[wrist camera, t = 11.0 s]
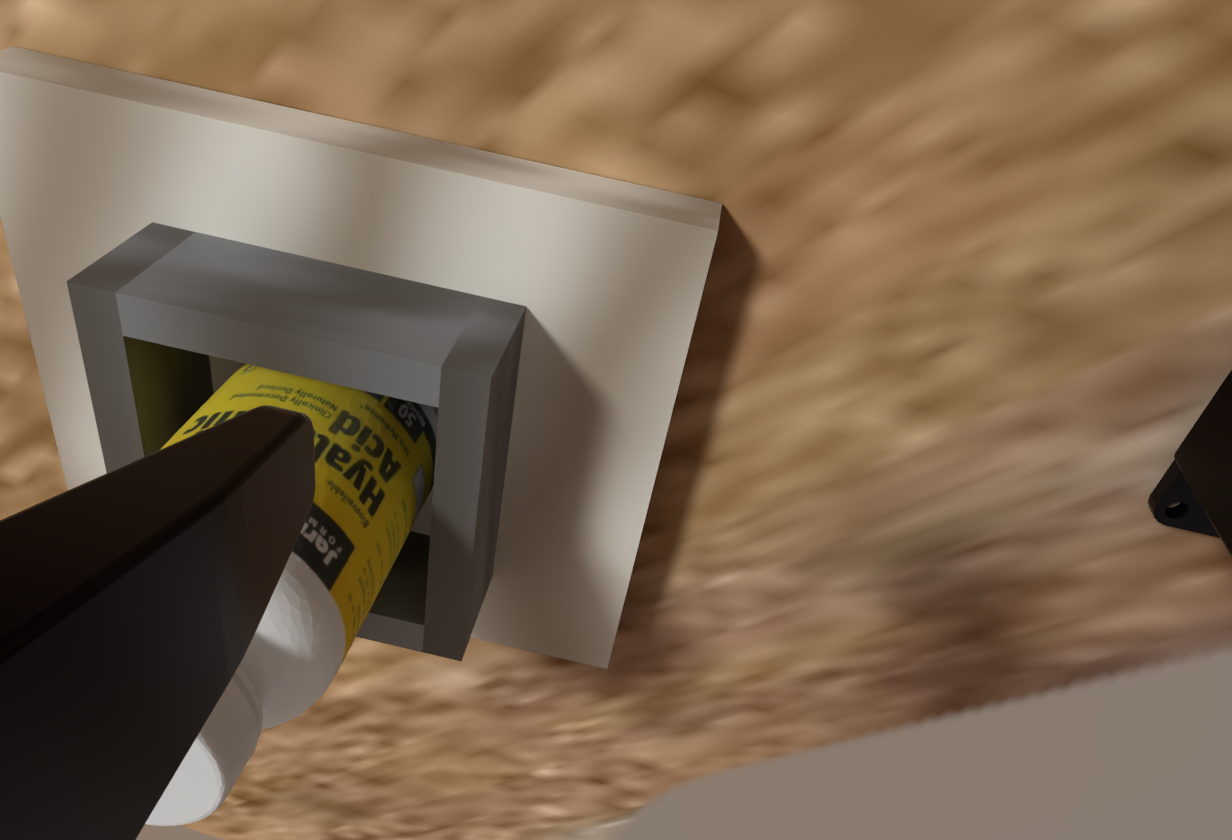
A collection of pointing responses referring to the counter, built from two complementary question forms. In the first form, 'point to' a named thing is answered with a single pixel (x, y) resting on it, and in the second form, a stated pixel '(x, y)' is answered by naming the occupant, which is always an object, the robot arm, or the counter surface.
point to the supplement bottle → (310, 565)
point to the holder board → (365, 322)
